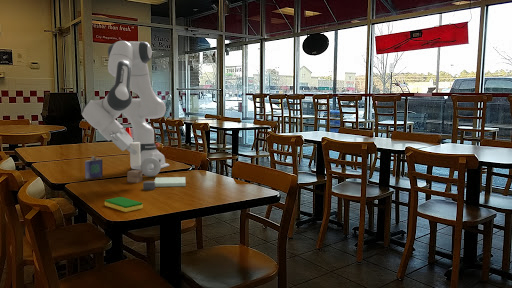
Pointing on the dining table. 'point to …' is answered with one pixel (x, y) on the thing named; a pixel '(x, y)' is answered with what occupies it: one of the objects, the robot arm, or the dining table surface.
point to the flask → (93, 168)
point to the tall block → (135, 159)
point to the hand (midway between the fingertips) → (136, 152)
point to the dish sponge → (123, 204)
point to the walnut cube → (134, 176)
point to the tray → (170, 181)
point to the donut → (146, 162)
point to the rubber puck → (149, 185)
